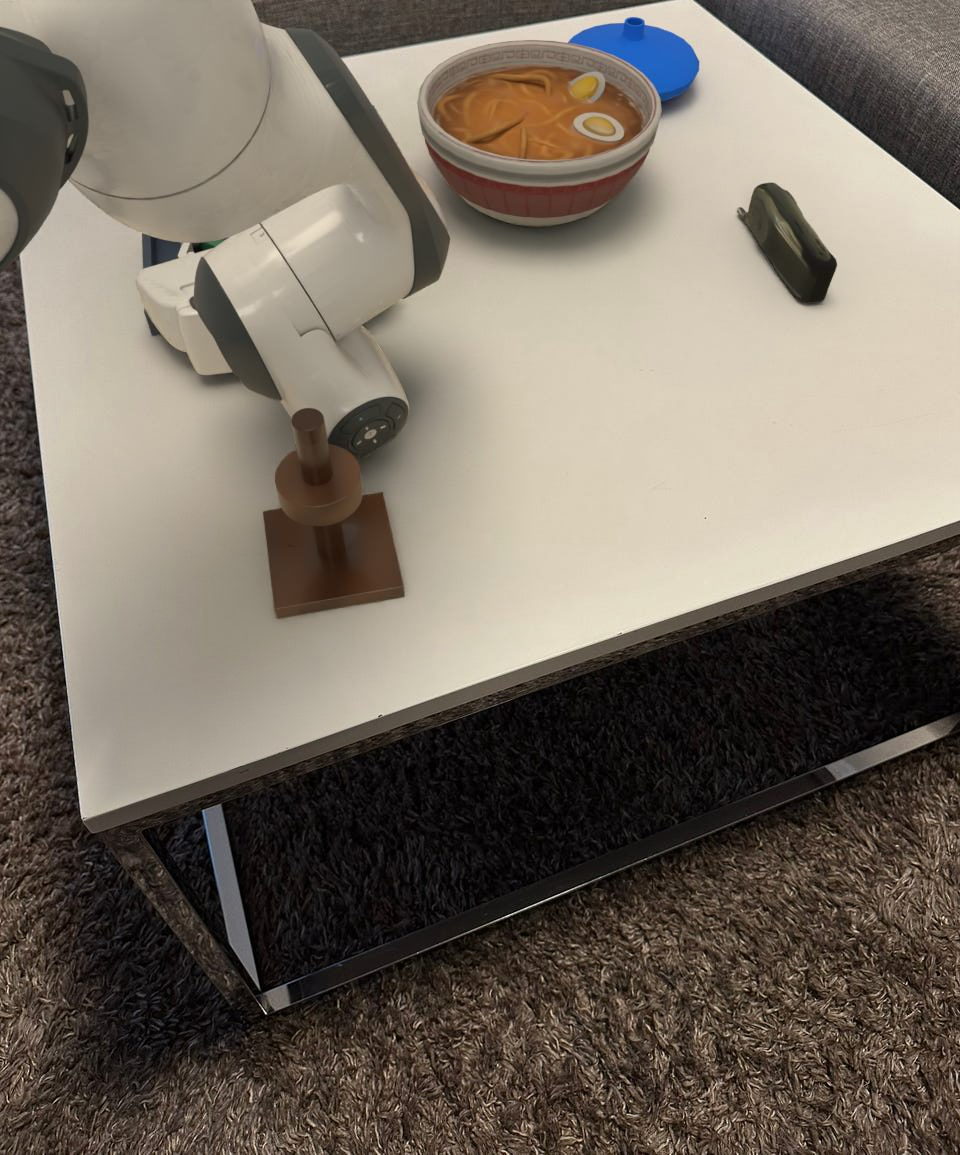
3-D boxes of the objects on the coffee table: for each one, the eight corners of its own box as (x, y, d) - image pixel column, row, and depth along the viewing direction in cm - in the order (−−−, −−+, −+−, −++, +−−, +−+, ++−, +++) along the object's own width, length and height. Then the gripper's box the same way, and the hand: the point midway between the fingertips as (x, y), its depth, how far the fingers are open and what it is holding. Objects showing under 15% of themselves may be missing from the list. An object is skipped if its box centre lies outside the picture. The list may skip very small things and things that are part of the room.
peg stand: (277, 619, 66) (238, 484, 55) (265, 521, 72) (227, 379, 60) (404, 596, 68) (392, 460, 56) (384, 502, 73) (369, 360, 62)
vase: (606, 135, 104) (614, 69, 98) (532, 71, 112) (536, 7, 106) (722, 101, 109) (736, 36, 103) (643, 42, 117) (652, -21, 111)
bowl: (669, 158, 102) (686, 62, 93) (612, 285, 89) (627, 186, 81) (467, 117, 106) (467, 22, 98) (385, 232, 93) (378, 133, 85)
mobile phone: (846, 259, 84) (770, 164, 92) (815, 265, 83) (741, 168, 91) (828, 305, 88) (756, 209, 96) (798, 310, 87) (729, 214, 95)
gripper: (399, 244, 79) (332, 163, 87) (160, 320, 73) (108, 226, 81) (403, 306, 85) (339, 225, 92) (180, 382, 79) (130, 288, 86)
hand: (229, 226), depth 86 cm, fingers closed on ring, 7 cm apart
